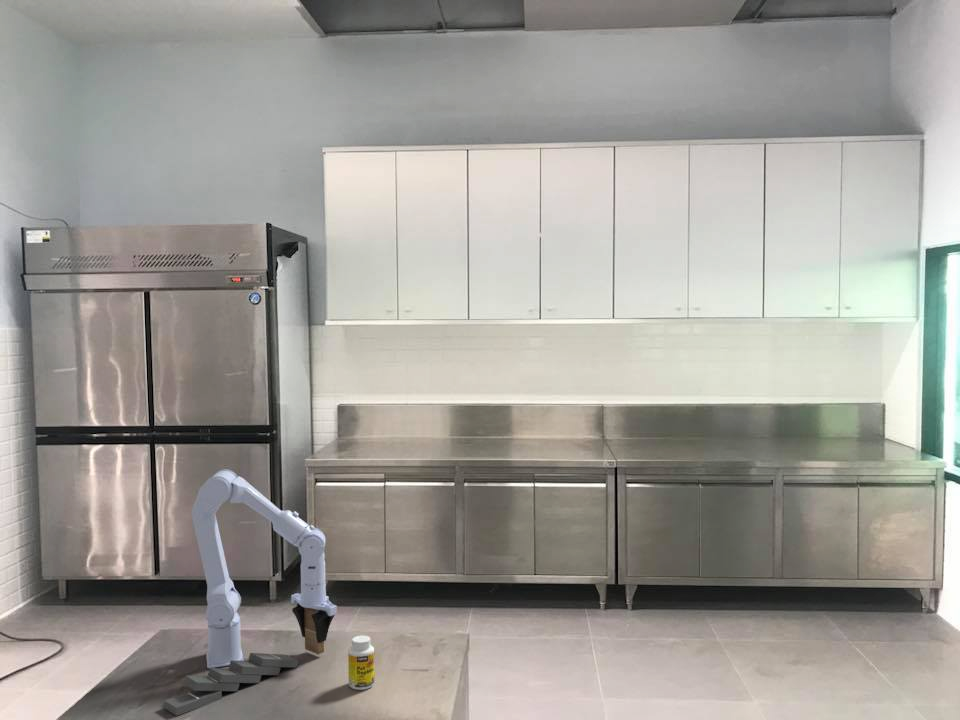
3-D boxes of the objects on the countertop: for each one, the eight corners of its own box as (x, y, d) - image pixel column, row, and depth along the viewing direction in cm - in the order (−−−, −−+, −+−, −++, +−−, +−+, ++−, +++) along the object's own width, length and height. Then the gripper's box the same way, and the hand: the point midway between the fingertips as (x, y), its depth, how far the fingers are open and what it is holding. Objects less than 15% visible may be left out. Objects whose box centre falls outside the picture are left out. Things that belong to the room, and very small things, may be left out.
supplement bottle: (355, 693, 166) (354, 645, 165) (344, 683, 170) (343, 637, 170) (379, 686, 169) (378, 640, 168) (367, 677, 173) (367, 631, 173)
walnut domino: (310, 646, 188) (310, 605, 188) (324, 652, 185) (323, 610, 185) (304, 649, 187) (303, 608, 186) (318, 654, 184) (317, 612, 183)
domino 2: (209, 684, 167) (164, 699, 160) (221, 691, 164) (176, 707, 156) (208, 692, 167) (164, 708, 160) (221, 699, 164) (176, 716, 156)
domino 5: (285, 654, 182) (250, 652, 175) (298, 659, 179) (263, 658, 172) (283, 662, 182) (248, 660, 175) (296, 668, 179) (260, 666, 172)
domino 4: (267, 661, 179) (230, 659, 171) (280, 667, 175) (243, 665, 168) (265, 669, 178) (228, 668, 171) (278, 675, 175) (241, 674, 168)
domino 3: (248, 668, 175) (209, 667, 168) (261, 674, 171) (222, 673, 164) (246, 677, 174) (207, 676, 167) (259, 683, 171) (219, 683, 164)
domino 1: (228, 676, 171) (186, 675, 164) (239, 682, 167) (196, 681, 161) (226, 685, 170) (183, 684, 164) (237, 691, 167) (194, 691, 160)
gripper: (346, 583, 184) (347, 640, 184) (307, 572, 193) (308, 626, 193) (323, 591, 178) (323, 650, 179) (283, 579, 187) (284, 635, 188)
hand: (314, 638), depth 186 cm, fingers closed on walnut domino, 5 cm apart
